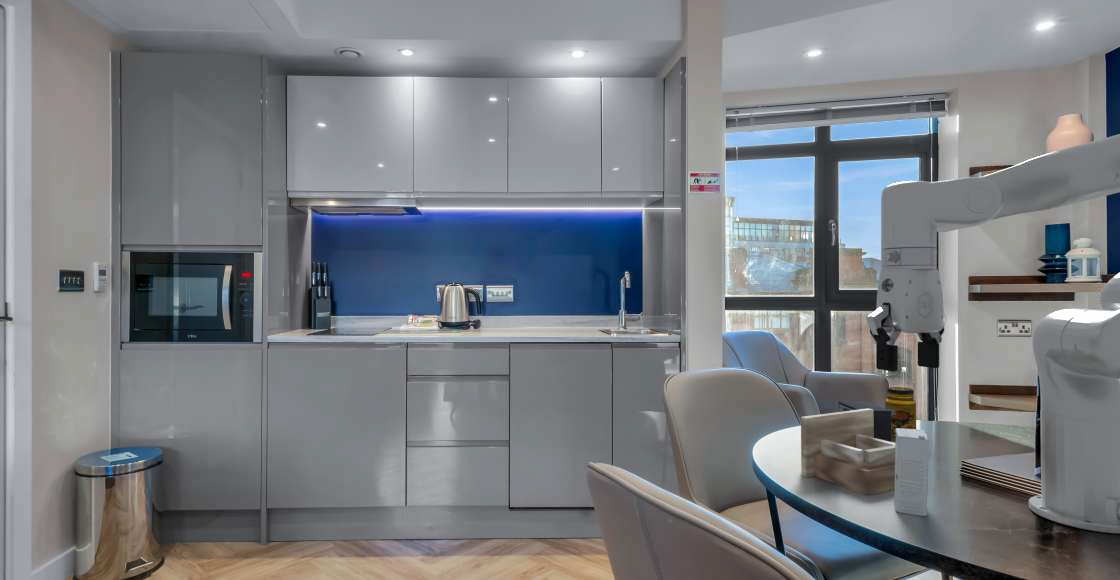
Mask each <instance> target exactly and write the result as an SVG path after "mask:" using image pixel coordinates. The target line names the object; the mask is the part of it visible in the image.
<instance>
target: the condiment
mask: <svg viewBox="0 0 1120 580" xmlns="http://www.w3.org/2000/svg"><path fill="white" fill-rule="evenodd" d="M886 392H887V394H886V396H887V398H886V400H885V407H884V408H885V409H888V410H891V411H892V413H891V442H892V443H896V428H903V429H916V430H917V403H916V401H915V400H914V398H915V395H914V394H915V393H914V392H915V391H914V389H912V388H909V387H901V386H890V387H888V388H887V389H886Z"/></svg>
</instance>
